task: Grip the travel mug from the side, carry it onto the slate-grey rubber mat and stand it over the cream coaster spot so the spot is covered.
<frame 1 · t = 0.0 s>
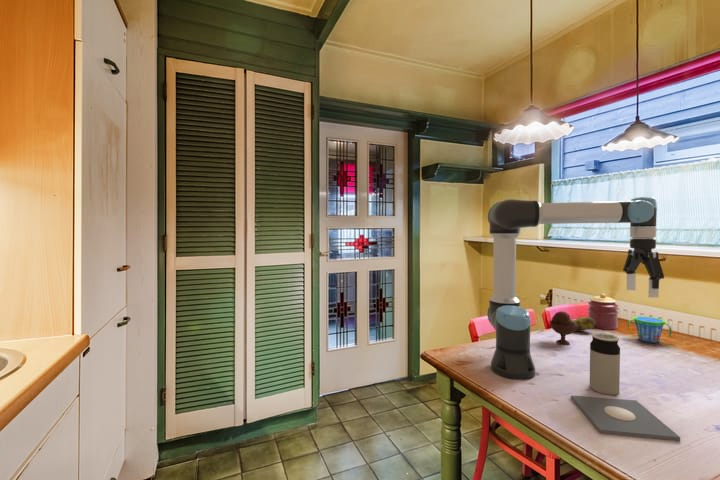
hand: (641, 293, 127), 28 cm above the table, tool pointing down, fingers open, 13 cm apart
potato: (579, 331, 170), on the table
mat: (619, 417, 94), on the table
snack cup: (648, 341, 155), on the table
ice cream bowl: (563, 343, 153), on the table
travel mug: (604, 390, 110), on the table
canister: (602, 326, 178), on the table
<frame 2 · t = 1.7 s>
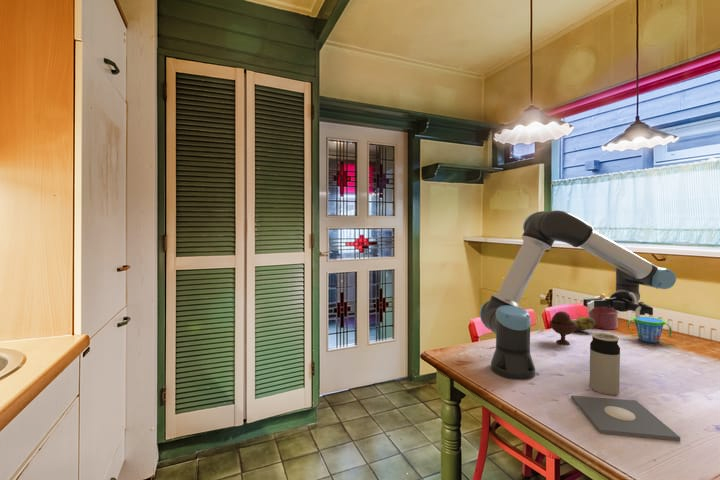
hand: (611, 310, 116), 25 cm above the table, tool horizontal, fingers open, 13 cm apart
nothing on the table moved.
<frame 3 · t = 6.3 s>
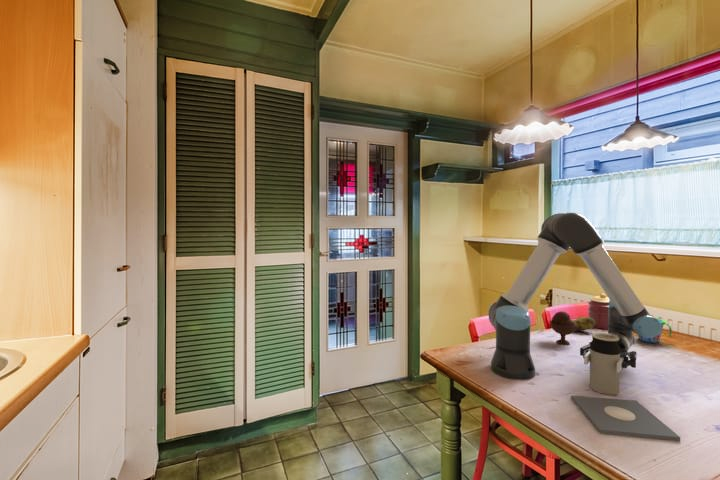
hand: (601, 364, 106), 10 cm above the table, tool horizontal, fingers closed on travel mug, 8 cm apart
travel mug: (604, 390, 110), on the table, touching gripper
everything else where it was.
when the fingers open (13 cm above the table, at t = 10.4 s): travel mug drops 1 cm, resting on mat.
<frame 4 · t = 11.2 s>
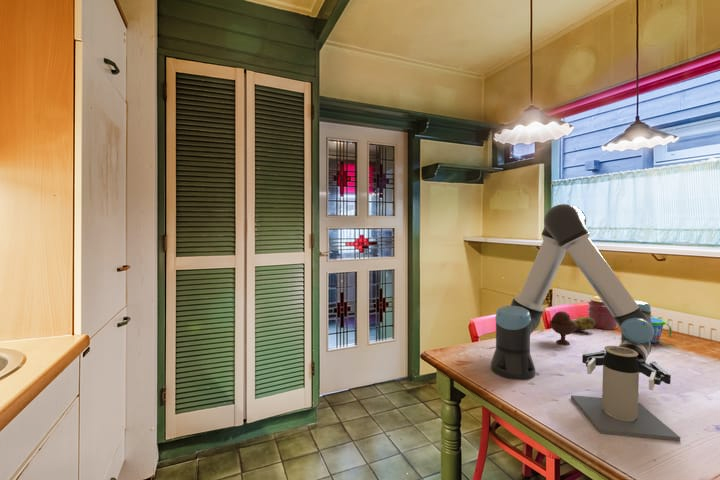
hand: (618, 376, 92), 13 cm above the table, tool horizontal, fingers open, 13 cm apart
travel mug: (619, 413, 94), point 1 cm above the table, touching mat
everything else where it was.
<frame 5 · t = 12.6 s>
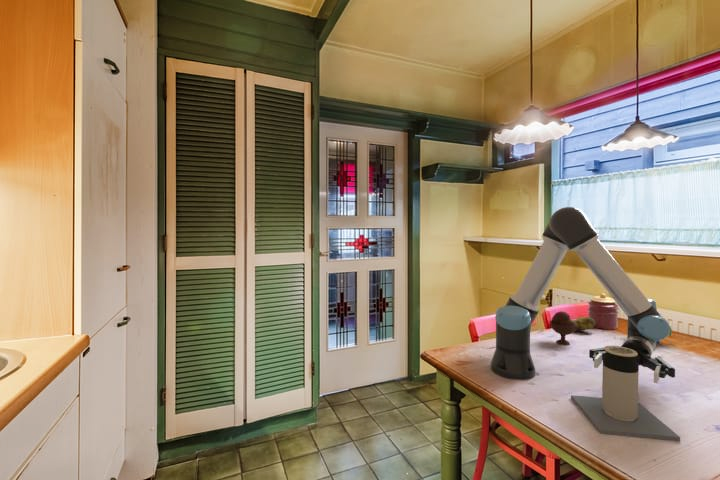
hand: (624, 370, 95), 13 cm above the table, tool horizontal, fingers open, 13 cm apart
nothing on the table moved.
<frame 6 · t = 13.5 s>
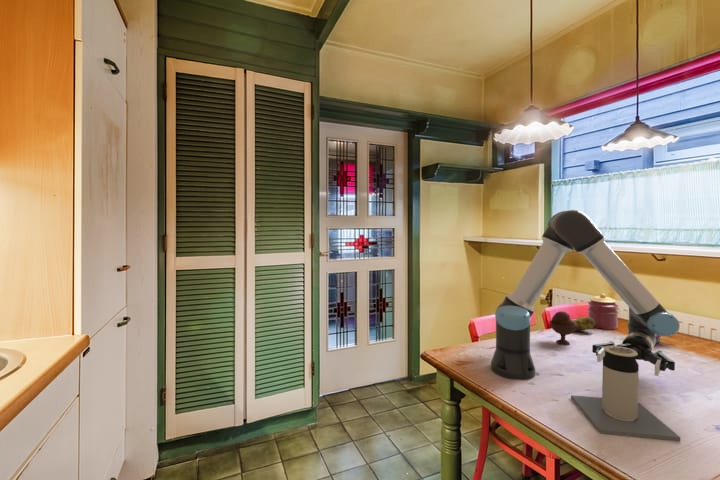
hand: (626, 364, 100), 13 cm above the table, tool horizontal, fingers open, 13 cm apart
nothing on the table moved.
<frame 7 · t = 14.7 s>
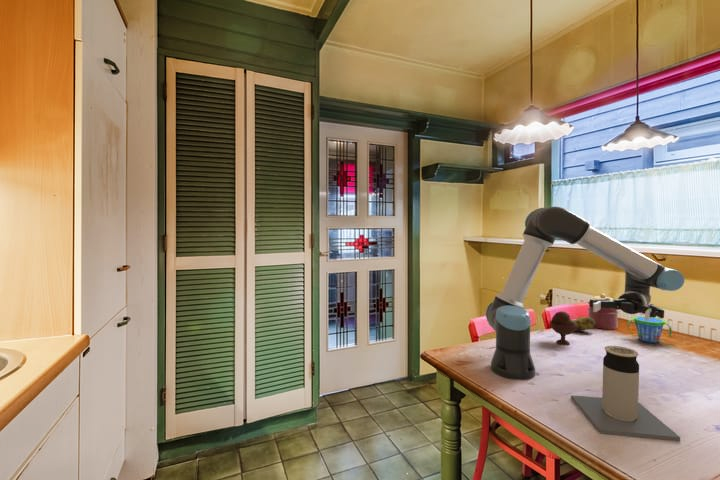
hand: (619, 312, 109), 26 cm above the table, tool horizontal, fingers open, 13 cm apart
nothing on the table moved.
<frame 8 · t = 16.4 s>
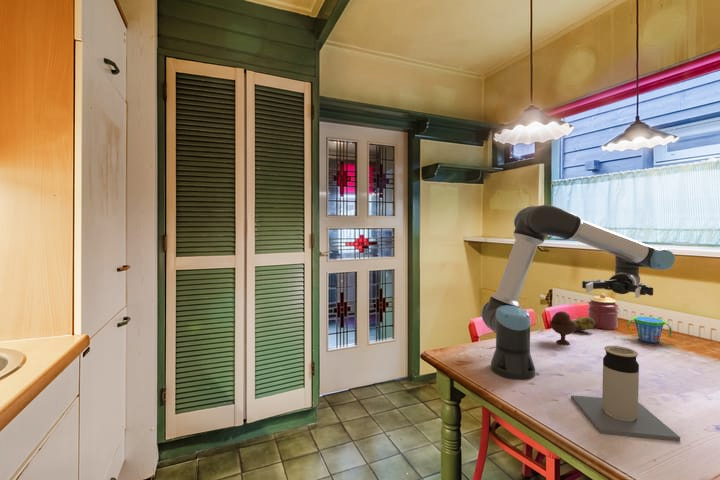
hand: (611, 291, 113), 32 cm above the table, tool horizontal, fingers open, 13 cm apart
nothing on the table moved.
at the end: travel mug 0.1 cm off-centre on the mat, point 1.1 cm above the mat's base; travel mug tilted 0°; the gripper is holding nothing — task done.
